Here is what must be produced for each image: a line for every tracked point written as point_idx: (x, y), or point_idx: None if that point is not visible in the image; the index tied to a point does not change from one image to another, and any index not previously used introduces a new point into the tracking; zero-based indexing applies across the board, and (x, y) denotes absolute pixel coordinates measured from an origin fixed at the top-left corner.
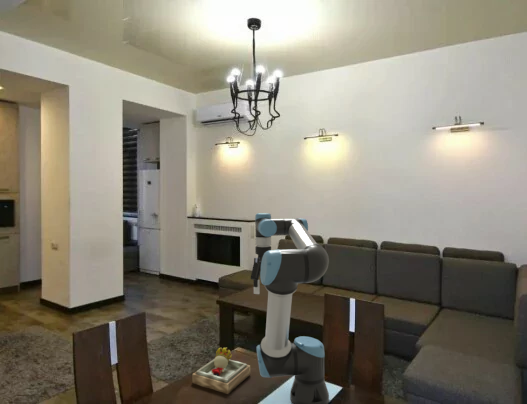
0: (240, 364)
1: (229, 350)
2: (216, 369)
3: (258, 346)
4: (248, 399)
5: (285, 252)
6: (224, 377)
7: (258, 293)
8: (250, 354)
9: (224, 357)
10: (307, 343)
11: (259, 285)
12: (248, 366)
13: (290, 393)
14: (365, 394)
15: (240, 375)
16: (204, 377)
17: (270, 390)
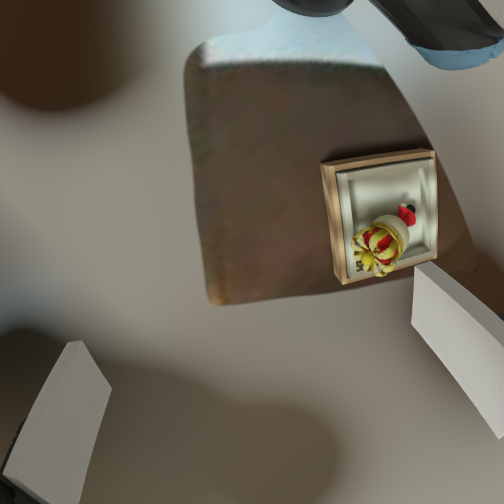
0: (348, 192)
1: (375, 239)
2: (410, 222)
3: (502, 45)
4: (403, 96)
5: None
6: (394, 196)
7: (434, 268)
8: (213, 256)
9: (396, 229)
10: None
11: (478, 323)
12: (336, 167)
13: (346, 6)
14: None
15: (379, 157)
16: (437, 222)
17: (343, 69)
